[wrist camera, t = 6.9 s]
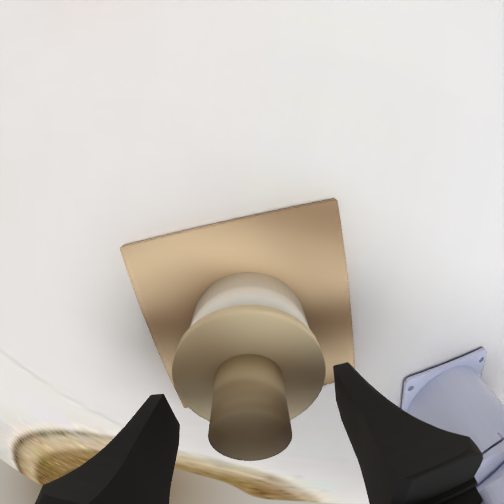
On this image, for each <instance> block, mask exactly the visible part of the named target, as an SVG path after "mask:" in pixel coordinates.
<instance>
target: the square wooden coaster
mask: <svg viewBox="0 0 504 504" xmlns="http://www.w3.org/2000/svg"><path fill="white" fill-rule="evenodd" d="M120 251H121V254H122V257H123V260H124V263H125V266H126V269H127V272H128V275H129V277H130V280H131V283H132V286H133V289H134V291H135V294H136V297H137V300H138V302H139V305H140V307H141V310H142V313H143V315H144V318H145V320H146V323H147V325H148V328H149V330H150V333H151V335H152V338H153V340H154V343H155V345H156V347H157V350H158V352H159V354H160V357H161V359H162V361H163V363H164V366H165V368H166V370H167V372H168V375H169V377H170V379H171V381H172V383H173V378H172V364H173V360H174V356H175V353H176V350H177V347H178V344H179V342H180V340H181V338H182V337H183V335H184V333H185V332H186V331H187V330H188V329H189V328H190V325H191V321H192V318H193V314H194V311H195V308H196V305H197V302H198V301H199V299H200V297H201V295H202V294H203V293H204V291H205V290H206V289H207V288H208V287H209V286H211V285H212V284H213V283H215V282H216V281H218V280H220V279H222V278H224V277H226V276H229V275H232V274H236V273H243V272H255V273H262V274H266V275H269V276H272V277H275V278H277V279H279V280H280V281H282V282H283V283H285V284H286V285H287V286H289V287H290V288H291V289H292V290H293V292H294V293H295V294H296V295H297V297H298V299H299V300H300V303H301V305H302V308H303V311H304V314H305V317H306V319H307V322H308V325H309V328H310V330H311V331H312V333H313V334H314V335H315V337H316V339H317V341H318V343H319V345H320V348H321V351H322V354H323V357H324V360H325V367H326V374H325V380H324V384H323V385H326V384H330V383H334V382H335V381H334V371H333V366H334V365H338V364H342V363H346V362H348V363H350V364H351V365H352V367H353V368H354V369H355V365H354V347H353V332H352V319H351V307H350V296H349V286H348V277H347V268H346V259H345V251H344V243H343V236H342V229H341V222H340V215H339V208H338V202H337V200H336V199H335V198H333V199H328V200H323V201H318V202H313V203H308V204H303V205H298V206H293V207H288V208H284V209H279V210H274V211H269V212H264V213H260V214H255V215H250V216H246V217H241V218H237V219H232V220H228V221H223V222H219V223H214V224H210V225H205V226H201V227H197V228H192V229H188V230H184V231H180V232H175V233H171V234H167V235H163V236H159V237H154V238H150V239H146V240H142V241H138V242H134V243H130V244H126V245H123V246H122V247H121V248H120ZM173 385H174V383H173ZM174 388H175V386H174ZM175 390H176V389H175ZM176 392H177V391H176ZM177 394H178V393H177ZM178 396H179V395H178ZM179 398H180V396H179ZM180 400H181V402H182V404H183V406H184V408H187V407H188V406H187V405H186V404H185V403H184V402H183V401H182V399H181V398H180Z"/></svg>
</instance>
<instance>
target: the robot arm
mask: <svg viewBox="0 0 504 504" xmlns="http://www.w3.org/2000/svg"><path fill="white" fill-rule="evenodd" d="M486 353H487V351H486V350H485V349H484V348H481V349H479V350H476V351H474V352H472V353H470V354H467V355H465V356H463V357H460V358H458V359H455V360H453V361H450V362H448V363H445V364H443V365H440V366H438V367H435V368H432V369H430V370H427V371H424V372H422V373H419V374H416V375H413V376H410V377H408V378H407V379H406V380H405V382H404V388H403V398H402V407H401V408H399V407H398V406H396V405H395V404H393V403H392V402H391V401H389V400H388V399H387V398H385V397H384V396H383V395H382V394H380V393H379V392H378V391H377V390H376V389H375V388H373V387H372V386H371V385H370V384H369V383H368V382H367V381H366V380H365V379H364V378H363V377H362V376H361V375H360V374H359V373H358V372H357V371H356V370H355V369H354V368H353V367H352V365H351V364H350V363H348V362H346V363H342V364H338V365H334V366H333V371H334V381H335V392H336V401H337V405H338V409H339V412H340V416H341V419H342V422H343V424H344V427H345V429H346V432H347V434H348V437H349V439H350V442H351V444H352V447H353V449H354V451H355V454H356V456H357V459H358V462H359V465H360V467H361V471H362V475H363V479H364V482H365V486H366V490H367V494H368V498H369V503H370V504H504V405H503V404H502V403H501V401H500V400H499V399H498V398H497V396H496V395H495V394H494V393H493V392H492V390H491V389H490V388H489V387H488V385H487V384H486V383H485V382H484V381H483V380H482V378H481V374H482V370H483V366H484V362H485V357H486ZM410 386H411V387H410ZM179 430H180V424H179V422H178V421H177V419H176V417H175V415H174V413H173V411H172V409H171V407H170V405H169V404H168V402H167V400H166V398H165V396H164V394H157V395H151V396H150V397H149V398H148V399H147V400H146V402H145V403H144V404H143V405H142V406H141V408H140V409H139V410H138V411H137V413H136V414H135V415H134V416H133V417H132V419H131V420H130V421H129V422H128V423H127V425H126V426H125V427H124V428H123V429H122V430H121V431H120V432H119V433H118V434H117V436H116V437H115V438H114V439H113V440H112V441H111V442H110V443H109V444H108V445H107V446H106V447H105V448H103V449H102V450H101V451H100V452H99V453H98V454H96V455H95V456H94V457H93V458H91V459H90V460H88V461H87V462H86V463H84V464H83V465H81V466H80V467H78V468H77V469H75V470H74V471H72V472H70V473H69V474H66V475H65V476H63V477H61V478H59V479H56V480H54V481H52V482H50V483H47V484H45V485H43V487H42V489H41V491H40V493H39V496H38V498H37V500H36V503H35V504H169V496H170V487H171V481H172V475H173V471H174V466H175V461H176V456H177V451H178V445H179Z"/></svg>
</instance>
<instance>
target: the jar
mask: <svg viewBox="0 0 504 504" xmlns="http://www.w3.org/2000/svg"><path fill="white" fill-rule="evenodd" d="M239 305H260V306H267V307H271V308H275V309H279V310H281V311H284V312H286V313H288V314H290V315H292V316H294V317H296V318H297V319H299V320H300V321H301V322H303V323H304V324H305V325H306V326H307V327H308V328H309V325H308V322H307V319H306V317H305V314H304V311H303V308H302V305H301V303H300V300H299V299H298V297H297V295H296V294H295V293H294V292H293V290H292V289H291V288H290V287H289V286H287V285H286V284H285V283H283V282H282V281H280V280H279V279H277V278H275V277H272V276H269V275H266V274H262V273H255V272H243V273H236V274H232V275H229V276H226V277H224V278H222V279H220V280H218V281H216V282H215V283H213V284H212V285H211V286H209V287H208V288H207V289H206V290H205V291H204V293H203V294H202V295H201V297H200V299H199V301H198V302H197V305H196V308H195V311H194V314H193V318H192V321H191V325H190V327H191V326H192V325H193V324H194V323H195V322H196V321H198V320H199V319H201V318H202V317H204V316H206V315H208V314H210V313H212V312H214V311H217V310H220V309H223V308H227V307H232V306H239ZM309 329H310V328H309Z"/></svg>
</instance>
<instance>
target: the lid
mask: <svg viewBox="0 0 504 504" xmlns="http://www.w3.org/2000/svg"><path fill="white" fill-rule="evenodd" d="M325 374H326V367H325V360H324V357H323V354H322V351H321V348H320V345H319V343H318V341H317V339H316V337H315V335H314V334H313V333H312V331H311V330H310V329H309V328H308V327H307V326H306V325H305V324H304V323H303V322H301V321H300V320H299V319H297V318H296V317H294V316H292V315H290V314H288V313H286V312H284V311H281V310H279V309H275V308H271V307H267V306H260V305H239V306H232V307H227V308H223V309H220V310H217V311H214V312H212V313H210V314H208V315H206V316H204V317H202V318H201V319H199V320H198V321H196V322H195V323H194V324H193V325H192V326H191V327H190V328H189V329H188V330H187V331H186V332H185V333H184V335H183V337H182V338H181V340H180V342H179V344H178V347H177V350H176V353H175V356H174V360H173V364H172V378H173V383H174V386H175V389H176V391H177V393H178V395H179V396H180V398H181V399H182V401H183V402H184V403H185V404H186V405H187V406H188V407H189V408H190V409H191V410H192V411H193V412H195V413H196V414H198V415H199V416H200V417H202V418H204V419H206V420H208V421H210V424H209V434H208V438H209V442H210V444H211V445H212V447H213V448H214V449H215V450H216V451H218V452H219V453H221V454H222V455H224V456H227V457H229V458H233V459H237V460H244V461H255V460H262V459H267V458H270V457H273V456H275V455H277V454H279V453H280V452H282V451H283V450H284V449H286V448H287V446H288V445H289V444H290V442H291V439H292V430H291V424H290V420H291V419H293V418H295V417H296V416H298V415H299V414H301V413H302V412H303V411H305V410H306V409H307V408H308V407H309V406H310V405H311V404H312V403H313V402H314V401H315V399H316V398H317V397H318V395H319V393H320V391H321V389H322V387H323V384H324V380H325Z"/></svg>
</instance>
